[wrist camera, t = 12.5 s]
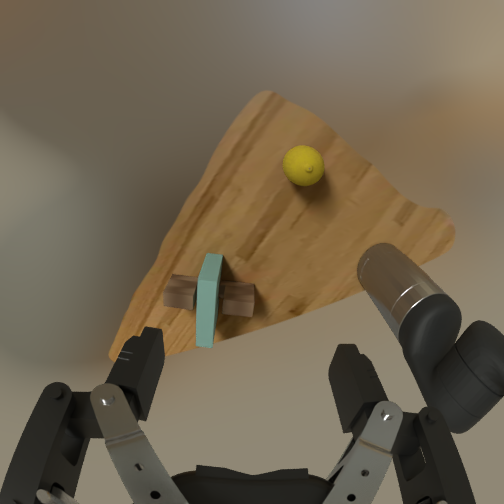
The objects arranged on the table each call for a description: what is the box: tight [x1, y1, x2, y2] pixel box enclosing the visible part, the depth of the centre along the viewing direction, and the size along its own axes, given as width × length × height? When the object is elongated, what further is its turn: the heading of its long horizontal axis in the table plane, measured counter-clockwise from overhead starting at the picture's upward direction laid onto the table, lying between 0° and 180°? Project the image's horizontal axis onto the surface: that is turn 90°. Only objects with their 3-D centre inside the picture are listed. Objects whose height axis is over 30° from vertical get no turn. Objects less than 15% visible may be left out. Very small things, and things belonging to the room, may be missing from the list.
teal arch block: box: [196, 253, 223, 348], centre depth 43 cm, size 12×3×9 cm, turn 173°
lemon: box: [283, 145, 324, 186], centre depth 36 cm, size 6×6×8 cm
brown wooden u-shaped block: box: [163, 274, 254, 317], centre depth 45 cm, size 14×3×6 cm, turn 83°
